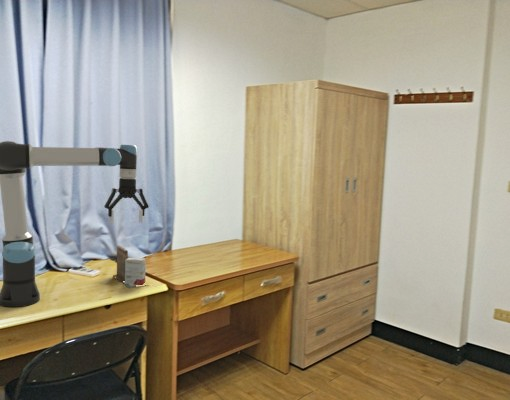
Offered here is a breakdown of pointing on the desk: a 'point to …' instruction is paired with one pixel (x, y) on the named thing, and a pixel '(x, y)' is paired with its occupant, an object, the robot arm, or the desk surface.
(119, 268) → the screen
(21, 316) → the desk surface
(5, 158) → the robot arm
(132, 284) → the mat
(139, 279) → the ink box
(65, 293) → the desk surface
